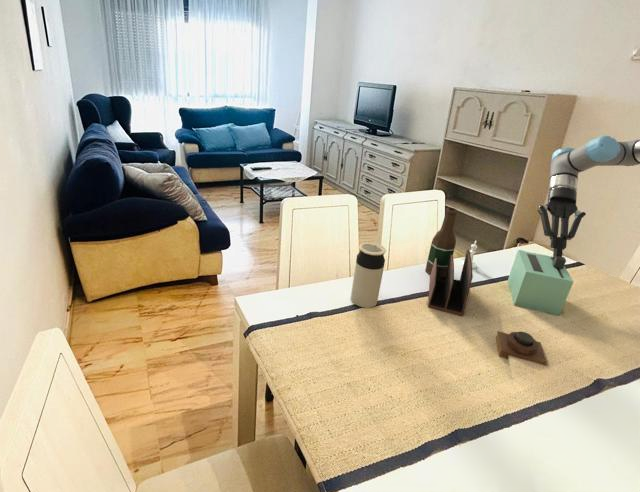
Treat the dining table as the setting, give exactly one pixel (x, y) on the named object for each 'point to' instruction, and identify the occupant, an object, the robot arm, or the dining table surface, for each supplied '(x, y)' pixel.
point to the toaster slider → (559, 262)
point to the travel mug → (368, 274)
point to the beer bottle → (443, 244)
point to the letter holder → (450, 287)
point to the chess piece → (472, 254)
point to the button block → (519, 348)
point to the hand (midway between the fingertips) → (557, 257)
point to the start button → (524, 338)
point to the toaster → (538, 283)
